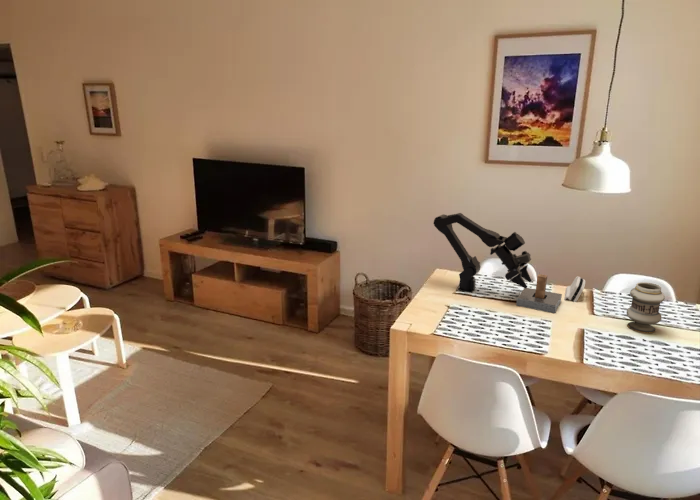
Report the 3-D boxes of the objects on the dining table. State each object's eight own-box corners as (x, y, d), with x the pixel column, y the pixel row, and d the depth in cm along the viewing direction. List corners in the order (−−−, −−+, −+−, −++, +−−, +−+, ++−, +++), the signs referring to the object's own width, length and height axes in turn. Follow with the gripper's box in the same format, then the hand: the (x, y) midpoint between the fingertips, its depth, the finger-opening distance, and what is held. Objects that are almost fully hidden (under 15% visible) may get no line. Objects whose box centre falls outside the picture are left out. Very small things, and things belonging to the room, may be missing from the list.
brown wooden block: (533, 304, 225) (537, 276, 221) (535, 301, 228) (539, 274, 224) (542, 305, 223) (545, 277, 219) (543, 303, 226) (547, 275, 222)
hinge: (565, 288, 244) (576, 271, 240) (575, 293, 243) (585, 276, 239) (564, 300, 230) (575, 281, 226) (574, 305, 228) (585, 286, 224)
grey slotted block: (516, 305, 223) (517, 298, 222) (524, 294, 236) (525, 287, 235) (554, 313, 215) (555, 305, 214) (560, 301, 228) (561, 294, 227)
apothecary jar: (617, 324, 205) (624, 282, 200) (638, 320, 210) (645, 278, 205) (644, 336, 194) (652, 292, 189) (665, 331, 199) (674, 288, 194)
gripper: (516, 251, 216) (539, 281, 214) (525, 242, 231) (547, 269, 229) (495, 265, 222) (518, 294, 220) (506, 255, 237) (527, 282, 235)
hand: (528, 284), depth 226 cm, fingers open, 9 cm apart
